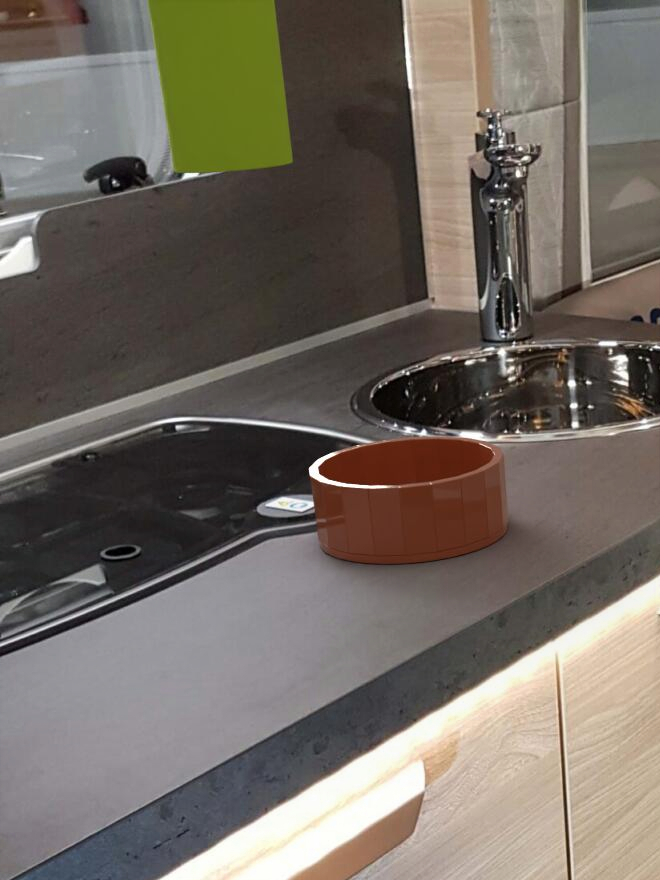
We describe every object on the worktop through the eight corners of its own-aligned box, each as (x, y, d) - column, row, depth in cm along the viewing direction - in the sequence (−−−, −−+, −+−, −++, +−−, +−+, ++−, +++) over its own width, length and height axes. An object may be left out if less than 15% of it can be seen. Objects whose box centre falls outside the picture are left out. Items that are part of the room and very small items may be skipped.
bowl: (296, 565, 94) (285, 490, 92) (346, 508, 104) (337, 439, 101) (489, 562, 92) (483, 485, 89) (521, 504, 102) (517, 433, 99)
